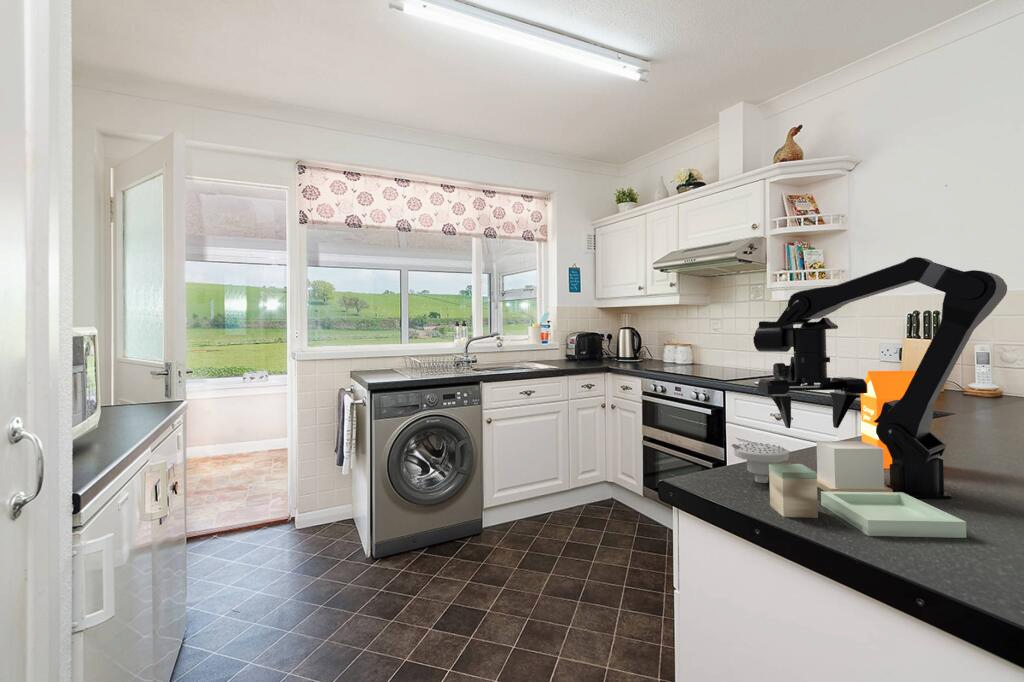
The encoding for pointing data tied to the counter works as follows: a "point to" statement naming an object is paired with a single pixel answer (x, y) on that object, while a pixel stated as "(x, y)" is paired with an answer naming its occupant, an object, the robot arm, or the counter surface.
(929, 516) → the parts tray
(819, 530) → the counter surface
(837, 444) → the butter dish
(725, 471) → the counter surface
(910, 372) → the orange juice
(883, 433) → the robot arm
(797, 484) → the block
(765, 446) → the showerhead
